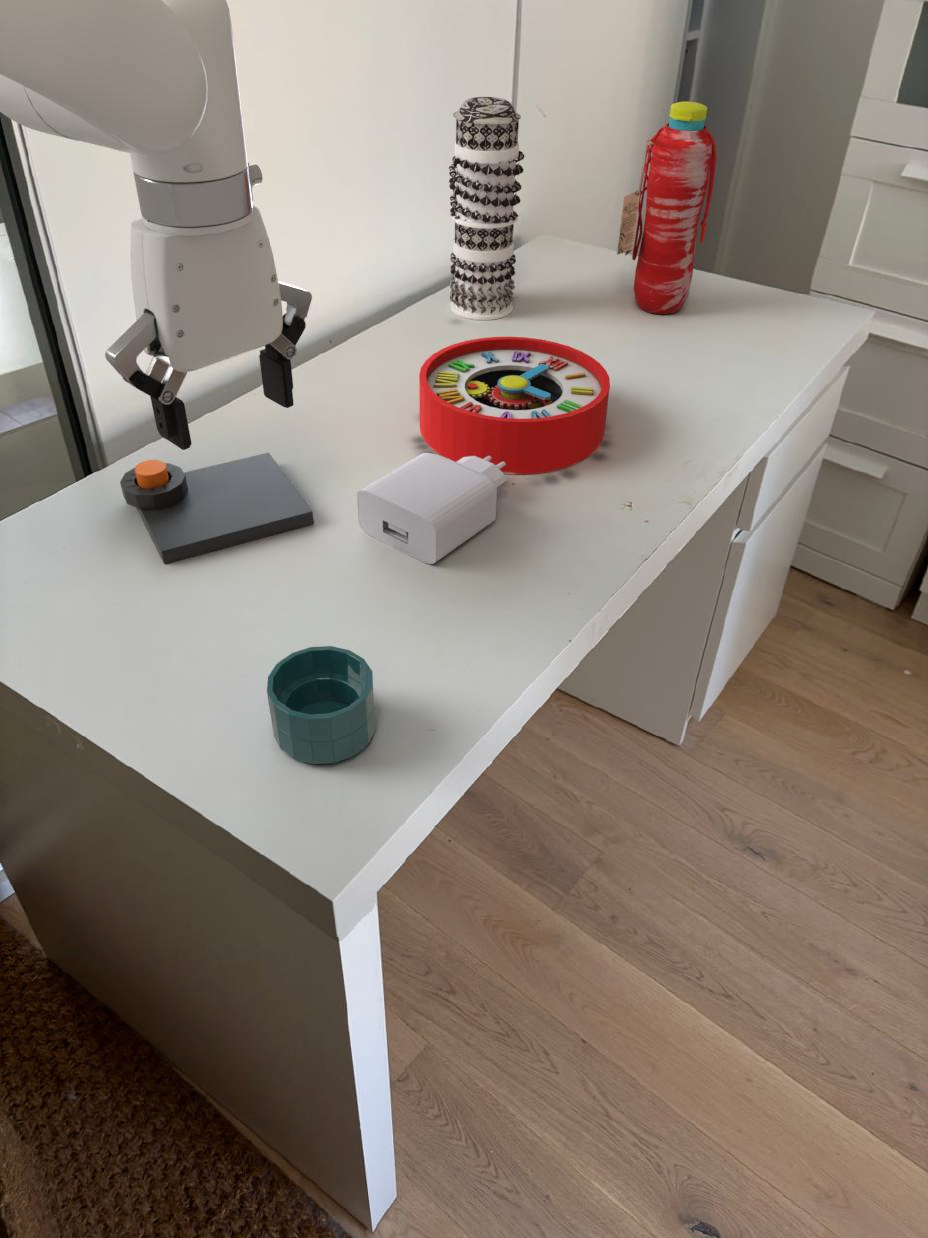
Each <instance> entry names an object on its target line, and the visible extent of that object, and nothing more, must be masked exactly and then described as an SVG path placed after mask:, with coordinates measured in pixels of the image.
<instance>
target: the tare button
mask: <svg viewBox="0 0 928 1238" xmlns="http://www.w3.org/2000/svg"><path fill="white" fill-rule="evenodd" d="M165 463H166V462H164V461H163V460H159V459H146V460H144V461H143V460H142V461H141V462H139V463H138V464H136V465H135V467H134V468H135V473H136V478H137V482H138V485H139V486H140V487H142V488H156V487H160V486H163V485H165V484H167V483H168V481H169V477H168V472H167V468H166V464H165Z"/></svg>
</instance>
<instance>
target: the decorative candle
mask: <svg viewBox="0 0 928 1238" xmlns="http://www.w3.org/2000/svg"><path fill="white" fill-rule="evenodd" d="M452 117H453V118H455V140H454V149H453V150H454V156H453V157H452V163H451V164H450V165H449V166H448V170H449V176H450V178H449V180H448V183H449V186H448V187H449V190H452V192H453V193H452V194H451V195H450V196H449V200H450V203H449V204H450V206H451V208H450V210H449V212H450V217H451V220H452V221H453V222H454V238H453V241H452V242H453V243H452V245H453V247H452V248H453V250H452V251H453V252H451V254H450V262H451V263H453V264H451V265H450V274H451V275H453V276H452V277H451V278H450V280H449V288H450V289H451V290H450V292H449V299H450V311H451V312H452V313H454V314H455V315H456V316H459V317H461V318H464V319H468V320H475V321H491V320H499V319H502V318H505V317H506V316H509V315H510V314H511V313H512V312H513V311H514V310H513V309H514V307H513V301H515V297H514V295H515V294H514V292H513V291H514V289H516V285H515V280H514V279H512V277H513V276H514V275H516V270H515V269H516V268H515V266H514V264H516V262H517V258H516V254H514V252H515V242H514V229H515V228H514V226H515V225H514V224H515V223H516V222H517V221H518V217H519V214H518V212H517V211H515V210H514V207H515V206H516V205H519V204H520V203H521V198H520V196H519V195H518V194H517V193H518V192H519V191H521V190H522V185H521V183H520V182H518V181H517V179H516V176H519V175H521V174H523V173H524V168H523V166H522V165H521V164H519V162H521V161H523V160H524V159H525V154H524V153H523V152H524V151H521V150H520V142H519V128H520V119H522V116H521V114H520V113H518V112H516V110H515V108H514V105H513V104H512V103H511V102H510V101H509V100H507V99H505V98H501V97H496V96H476V97H471V98H468V99H466V100H465V101H463V102H462V104H461V105H460V107H459V109H458V110H457V111H455V112H453V113H452Z"/></svg>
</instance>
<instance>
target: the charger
mask: <svg viewBox="0 0 928 1238" xmlns="http://www.w3.org/2000/svg"><path fill="white" fill-rule="evenodd" d="M491 459H492V458H491V456H487V457H486V458H484V459H481V458H479V457H476V456H469V457H463V458H462V459H460V460H458V461H457V462H454V461H452V460H450V459H447V458H445V457H443V456H441V455H439V454H438V453H437V454H435V453H429V452H422V453H420V454H419V455H417V456H415V457H413V458H412V459H410V460H408V461H407V462H405V463H403V464H402V465H400V466H398V467H396V468H395V469H394V470H391V471H390V472H389V473H387V474H385V475H383V476H382V477H379V478H378V479H376V480H375V481H373V482H372V483H370V484H368V485H367V486H364V487H363V488H362V489H360V490H359V491H357V492H356V502H357V503H356V504H357V518H358V520H357V521H358V525H359V527H360V528H361V530H363V531H364V532H365V533H366V534H367V535H369V536H370V537H372V538H374V539H376V540H377V541H380V542H382V543H384V544H386V545H388V546H390V547H392V548H394V549H395V550H398V551H400V552H401V553H404V554H406V555H408V556H410V557H411V558H414V559H416V560H418V561H420V562H422V563H424V564H428V565H434V564H436V563H437V562H438V561H439V560H441V559H443V558H444V557H445V556H447V555H448V554H449V553H451V552H452V551H454V550H455V549H456V548H458V547H459V546H461V545H462V544H464V543H465V542H467V541H468V540H469V539H470V538H472V537H474V536H475V535H476V534H478V533H479V532H480V531H482V530H484V529H485V528H486V527H487V526H489V525H490V524H491V523H493V522H495V520H496V518H497V516H496V515H497V500H498V499H497V498H498V489H497V488H498V487H500V486H501V485H503V484H504V483H506V482H507V481H508V478H507V476H506V474H504V473H503V472H502V471H501V470H500V469H501V468H502V467H504V466H505V465H506V464H505V462H501V463H499V464H498V465H495V464H493V463H490V462H488V461H490V460H491Z"/></svg>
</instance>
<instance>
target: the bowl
mask: <svg viewBox="0 0 928 1238" xmlns="http://www.w3.org/2000/svg"><path fill="white" fill-rule="evenodd" d="M373 673H374V672H373V670H372V669H371V667H370V666H369V664H368V663H367V661H366V660H365V658H364V657H362V656H360V655H358V654H357V653H355V652H353V651H352V650H350V649H346V648H342V647H337V646H333V645H324V646H323V645H321V646H309V647H306V648H302V649H300V650H297V651H293V652H291V653H290V654H288V655H287V656H285V657H284V658H282V659H281V660H280V661H278V662H277V663H276V664H275V665H274V667H273V669H272V670H271V671H270V673H269V675H268V676H267V683H266V694H267V701H268V707H269V714H270V720H271V726H272V734H273V737H274V739H275V741H276V743H277V745H278V747H279V749H280V750H281V751H282V752H284V753H285V754H287V755H288V756H289V757H291V758H292V759H294V760H296V761H300V762H304V763H307V764H311V765H320V764H322V765H323V764H334V763H339V762H341V761H343V760H344V761H345V760H346V759H350V758H352V757H353V756H355V755H356V754H358V753H359V752H361V750H363V749H364V748H365V747H366V746H367V745H368V744H369V743H370V741H371V740H372V738H373V735H374V733H375V732H376V713H375V712H376V711H375V696H374V695H375V694H374V674H373Z"/></svg>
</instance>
